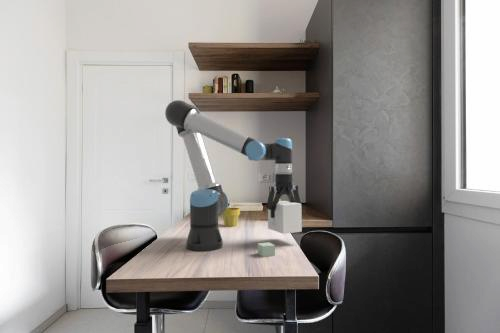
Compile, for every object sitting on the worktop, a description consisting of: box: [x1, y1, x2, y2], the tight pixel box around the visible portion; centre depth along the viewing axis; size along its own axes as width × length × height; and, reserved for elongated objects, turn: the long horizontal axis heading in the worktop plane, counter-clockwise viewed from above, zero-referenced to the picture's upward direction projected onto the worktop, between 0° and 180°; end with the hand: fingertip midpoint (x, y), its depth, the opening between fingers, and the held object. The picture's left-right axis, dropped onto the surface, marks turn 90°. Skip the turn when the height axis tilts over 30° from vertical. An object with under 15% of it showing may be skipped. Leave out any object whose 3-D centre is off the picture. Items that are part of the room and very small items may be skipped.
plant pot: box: [221, 206, 241, 228], centre depth 184 cm, size 10×10×10 cm
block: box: [257, 242, 276, 258], centre depth 124 cm, size 5×5×4 cm
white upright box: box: [267, 200, 303, 235], centre depth 144 cm, size 9×13×12 cm
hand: (284, 224), depth 144 cm, fingers closed on white upright box, 9 cm apart
